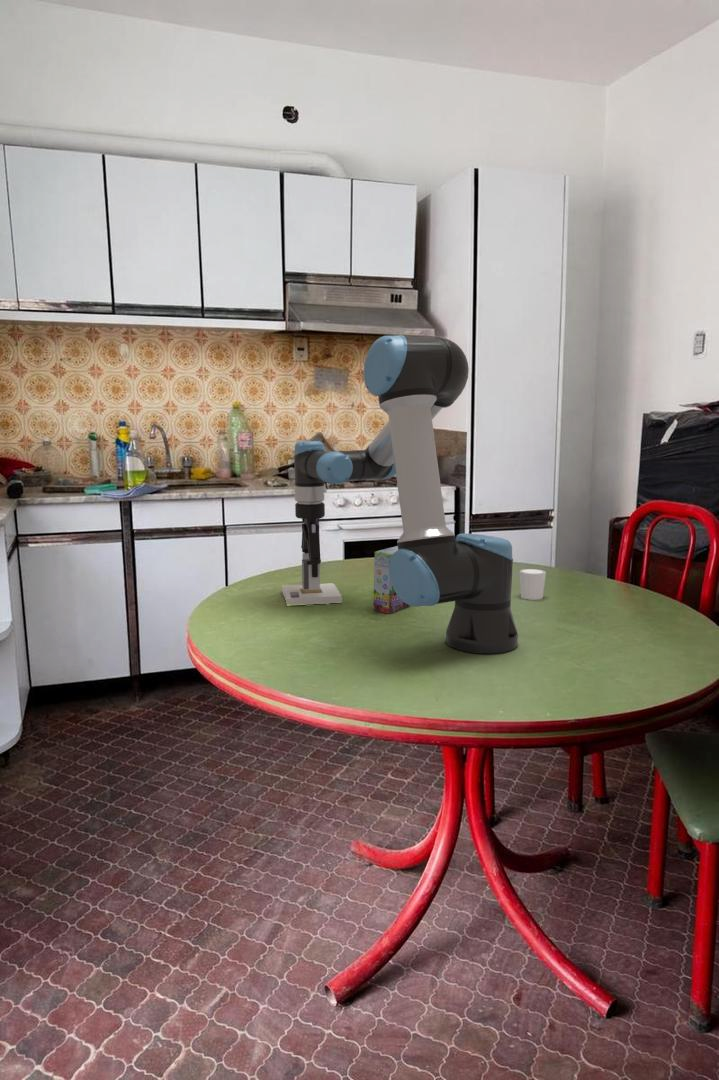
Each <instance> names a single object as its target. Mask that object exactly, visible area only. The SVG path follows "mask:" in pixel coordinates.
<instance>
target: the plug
mask: <svg viewBox="0 0 719 1080" xmlns="http://www.w3.org/2000/svg"><path fill="white" fill-rule="evenodd" d="M307 561H309V559H304V560H303V559H301V583H302V584H301V585H302V594H307V593H320V589H316V590H309V565H307Z"/></svg>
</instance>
